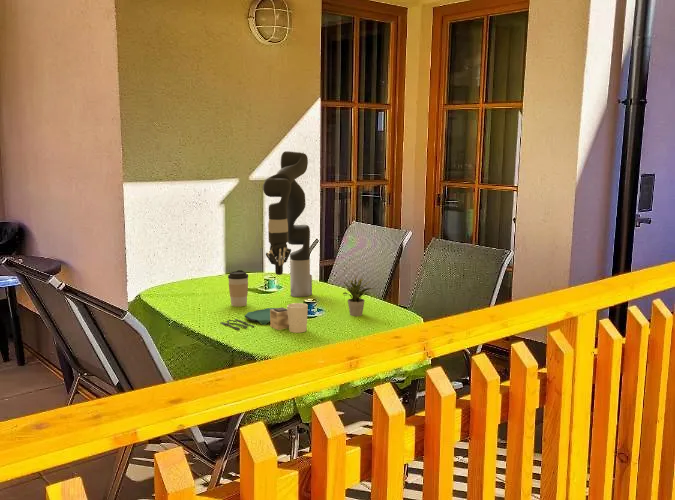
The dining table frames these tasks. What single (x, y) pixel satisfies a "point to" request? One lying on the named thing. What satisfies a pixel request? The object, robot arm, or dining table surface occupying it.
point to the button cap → (280, 309)
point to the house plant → (356, 298)
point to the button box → (279, 319)
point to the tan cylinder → (297, 317)
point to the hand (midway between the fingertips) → (279, 274)
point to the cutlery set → (253, 318)
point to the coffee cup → (238, 288)
